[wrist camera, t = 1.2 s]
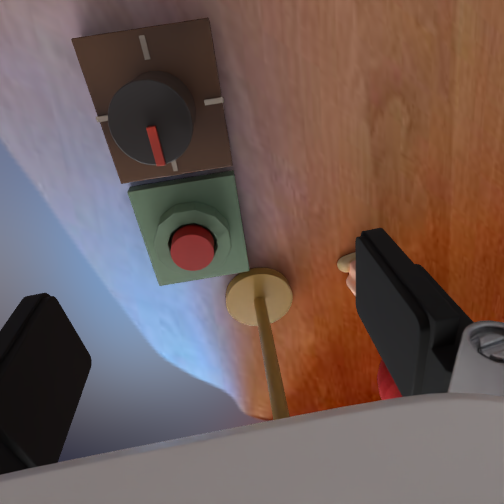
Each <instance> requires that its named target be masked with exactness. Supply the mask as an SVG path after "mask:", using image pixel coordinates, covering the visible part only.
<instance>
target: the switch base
mask: <svg viewBox="0 0 504 504" xmlns="http://www.w3.org/2000/svg"><path fill="white" fill-rule="evenodd" d="M128 195H129V198H130V201H131V204H132V207H133V210H134V213H135V216H136V219H137V222H138V225H139V228H140V230H141V233H142V236H143V239H144V242H145V245H146V248H147V251H148V254H149V257H150V260H151V263H152V266H153V269H154V272H155V274H156V277H157V280H158V283H159V286H162V285H168V284H174V283H180V282H186V281H192V280H198V279H204V278H210V277H216V276H222V275H228V274H235V273H241V272H247V271H250V269H249V263H248V256H247V250H246V244H245V238H244V232H243V226H242V219H241V213H240V207H239V201H238V195H237V189H236V182H235V176H234V171H233V170H232V171H226V172H219V173H213V174H207V175H201V176H194V177H188V178H182V179H176V180H169V181H163V182H157V183H151V184H145V185H138V186H132V187H130V188H129V190H128ZM186 225H199V226H202V227H204V228H205V229H207V230H208V231H209V232H210V233H211V235H212V237H213V240H214V257H213V260H212V261H211V263H210V264H209V265H208V266H207V267H205V268H203V269H201V270H197V271H189V270H185V269H182V268H180V267H179V266H177V265H176V264H175V263H174V261H173V260H172V258H171V254H170V250H171V244H172V239H173V236H174V234H175V232H176V231H177V230H178V229H180V228H181V227H183V226H186Z"/></svg>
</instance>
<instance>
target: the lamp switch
mask: <svg viewBox="0 0 504 504" xmlns="http://www.w3.org/2000/svg"><path fill="white" fill-rule="evenodd" d="M170 254H171V258H172V260H173V261H174V263H175V264H176V265H177V266H179V267H180V268H182V269H185V270H189V271H197V270H201V269H203V268H205V267H207V266H208V265H209V264H210V263H211V261H212V260H213V257H214V240H213V237H212V235H211V233H210V232H209V231H208V230H207V229H205V228H204V227H202V226H199V225H186V226H183V227H181V228H180V229H178V230H177V231H176V232H175V234H174V236H173V239H172V244H171V250H170Z"/></svg>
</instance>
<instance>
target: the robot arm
mask: <svg viewBox="0 0 504 504" xmlns="http://www.w3.org/2000/svg"><path fill="white" fill-rule="evenodd" d="M356 308H357V312H358V314H359V316H360V318H361V320H362V322H363V324H364V326H365V328H366V329H367V331H368V333H369V335H370V337H371V339H372V341H373V343H374V344H375V346H376V348H377V350H378V352H379V354H380V356H381V357H382V359H383V361H384V363H385V365H386V367H387V369H388V371H389V372H390V374H391V376H392V378H393V380H394V382H395V384H396V386H397V387H398V389H399V391H400V393H401V395H402V397H399V398H393V399H387V400H381V401H375V402H369V403H364V404H358V405H352V406H346V407H341V408H335V409H330V410H324V411H319V412H314V413H309V414H303V415H298V416H293V417H288V418H282V419H277V420H272V421H266V422H262V423H256V424H251V425H245V426H241V427H236V428H230V429H225V430H220V431H215V432H209V433H204V434H199V435H194V436H189V437H184V438H179V439H174V440H169V441H163V442H159V443H153V444H148V445H143V446H138V447H133V448H128V449H123V450H118V451H113V452H108V453H103V454H99V455H93V456H88V457H83V458H78V459H73V460H69V461H63V462H59V463H58V460H59V457H60V454H61V451H62V448H63V445H64V442H65V440H66V437H67V434H68V431H69V428H70V425H71V423H72V419H73V417H74V414H75V411H76V408H77V405H78V403H79V400H80V397H81V394H82V391H83V388H84V385H85V383H86V380H87V377H88V374H89V371H90V368H91V356H90V354H89V353H88V351H87V349H86V348H85V346H84V344H83V343H82V341H81V339H80V337H79V336H78V334H77V333H76V331H75V329H74V327H73V326H72V324H71V322H70V321H69V319H68V318H67V316H66V314H65V312H64V310H63V309H62V307H61V305H60V304H59V302H58V300H57V299H56V298H55V297H54V296H50V295H49V294H47V293H42V294H36V295H31V296H27V297H24V298H23V299H22V301H21V302H20V304H19V305H18V306H17V308H16V309H15V311H14V312H13V313H12V315H11V316H10V318H9V319H8V321H7V322H6V324H5V325H4V327H3V328H2V329H1V331H0V504H504V323H502V322H496V321H478V322H475V323H474V322H473V321H472V320H471V319H470V318H469V317H468V316H467V315H466V314H465V313H464V312H463V310H462V309H461V308H460V307H459V306H458V305H457V304H456V303H455V302H454V301H453V300H452V298H451V297H450V296H449V295H448V294H447V293H446V292H445V291H444V290H443V289H442V288H441V286H440V285H439V284H438V283H437V282H436V281H435V280H434V279H433V278H432V277H431V276H430V274H429V273H428V272H427V271H426V270H425V269H424V268H423V267H422V266H421V265H419V264H414V263H413V262H412V261H411V260H410V259H409V258H408V256H407V255H406V254H405V253H404V252H403V251H402V250H401V249H400V248H399V246H398V245H397V244H396V243H395V242H394V241H393V240H392V239H391V237H390V236H389V235H388V234H387V233H386V232H385V231H384V230H383V229H382V228H377V229H372V230H367V231H363V232H362V233H361V236H360V237H357V238H356Z"/></svg>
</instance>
